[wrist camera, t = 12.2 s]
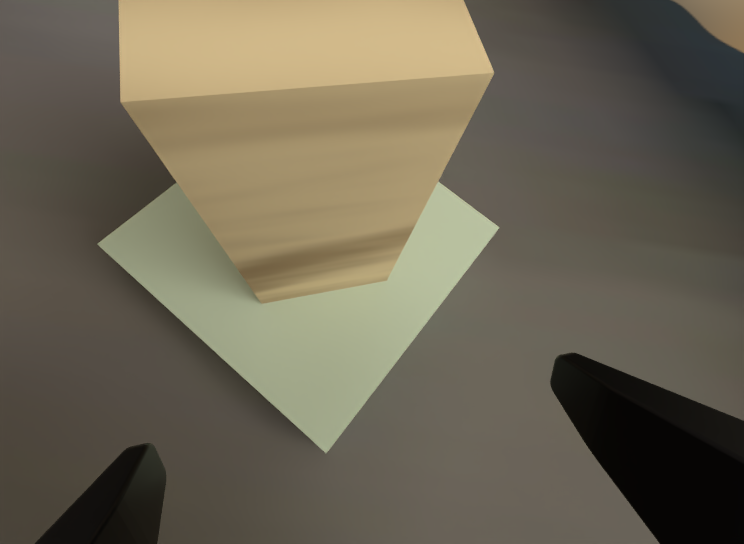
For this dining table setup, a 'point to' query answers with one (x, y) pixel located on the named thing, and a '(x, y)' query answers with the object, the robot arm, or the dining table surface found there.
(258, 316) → the sage baseplate
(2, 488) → the dining table surface
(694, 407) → the robot arm
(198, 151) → the oak brick
